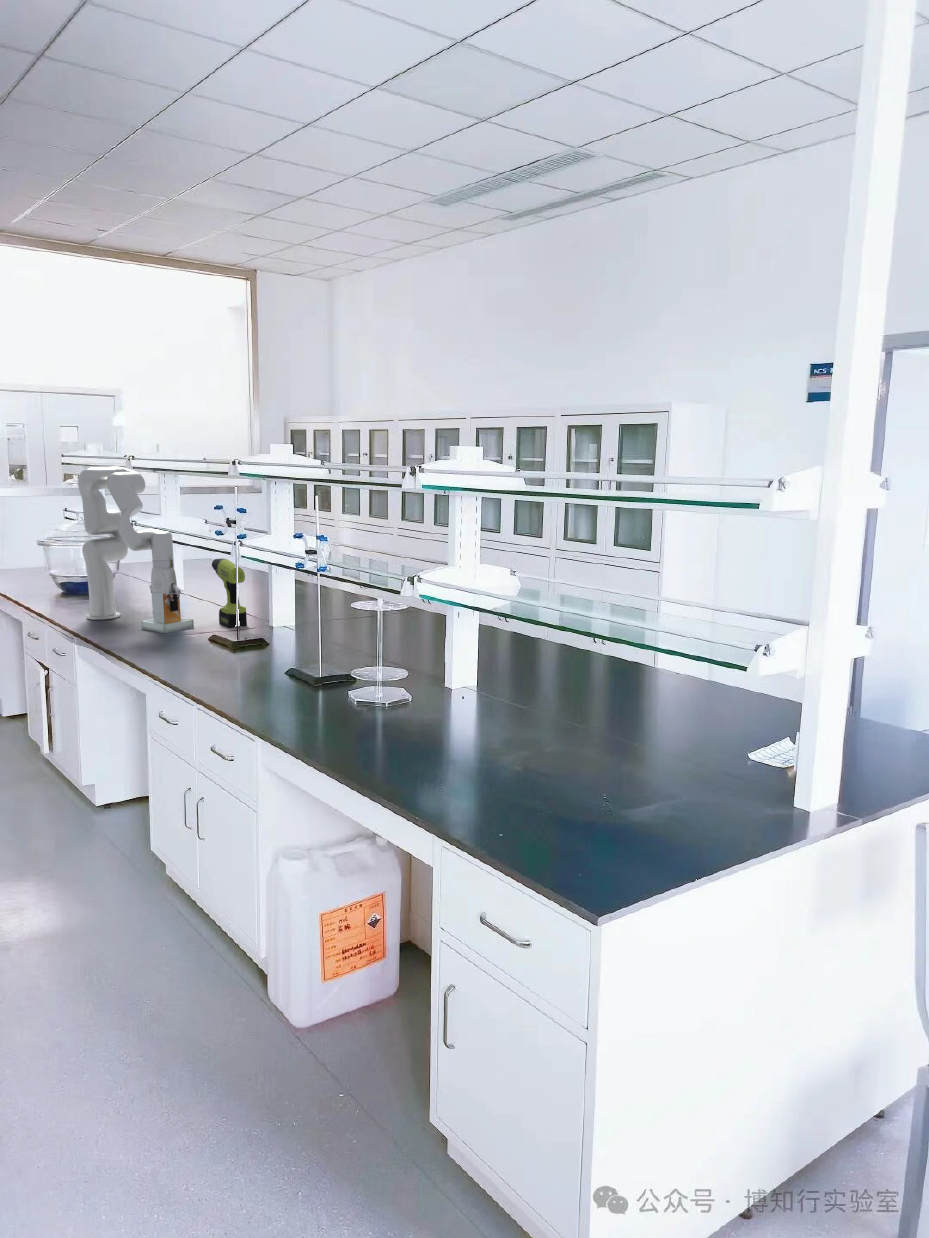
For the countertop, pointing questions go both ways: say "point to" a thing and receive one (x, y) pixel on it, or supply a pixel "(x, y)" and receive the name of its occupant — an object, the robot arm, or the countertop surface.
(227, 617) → the cordless drill
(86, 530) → the robot arm
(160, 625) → the tray
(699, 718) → the countertop surface
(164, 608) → the small box
